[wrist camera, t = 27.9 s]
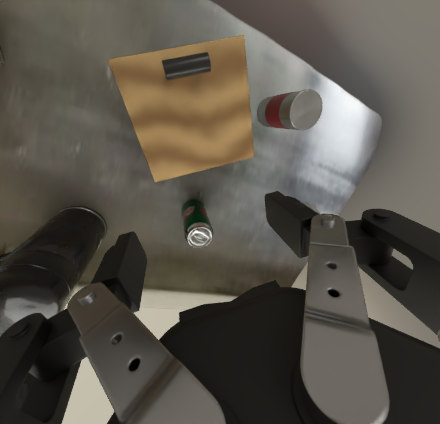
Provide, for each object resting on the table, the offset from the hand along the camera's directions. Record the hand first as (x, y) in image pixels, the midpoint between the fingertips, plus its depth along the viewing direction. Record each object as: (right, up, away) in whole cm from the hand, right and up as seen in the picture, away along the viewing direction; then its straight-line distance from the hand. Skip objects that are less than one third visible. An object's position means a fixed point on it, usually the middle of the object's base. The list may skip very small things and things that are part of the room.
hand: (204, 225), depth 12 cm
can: (+11, +21, +27) cm, 36 cm away
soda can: (-5, +2, +33) cm, 33 cm away
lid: (-3, +14, +16) cm, 22 cm away
